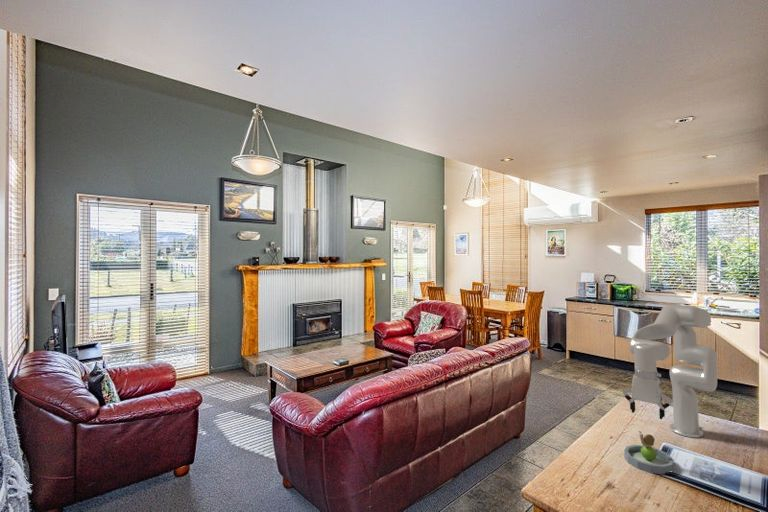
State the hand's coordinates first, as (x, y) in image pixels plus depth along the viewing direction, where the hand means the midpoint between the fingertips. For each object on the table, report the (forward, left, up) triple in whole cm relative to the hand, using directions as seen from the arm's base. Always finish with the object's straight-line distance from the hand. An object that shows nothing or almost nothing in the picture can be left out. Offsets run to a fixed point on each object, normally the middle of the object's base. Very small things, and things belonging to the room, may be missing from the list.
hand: (647, 414), depth 156 cm
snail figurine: (0, 0, -19) cm, 19 cm away
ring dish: (0, 0, -20) cm, 20 cm away
